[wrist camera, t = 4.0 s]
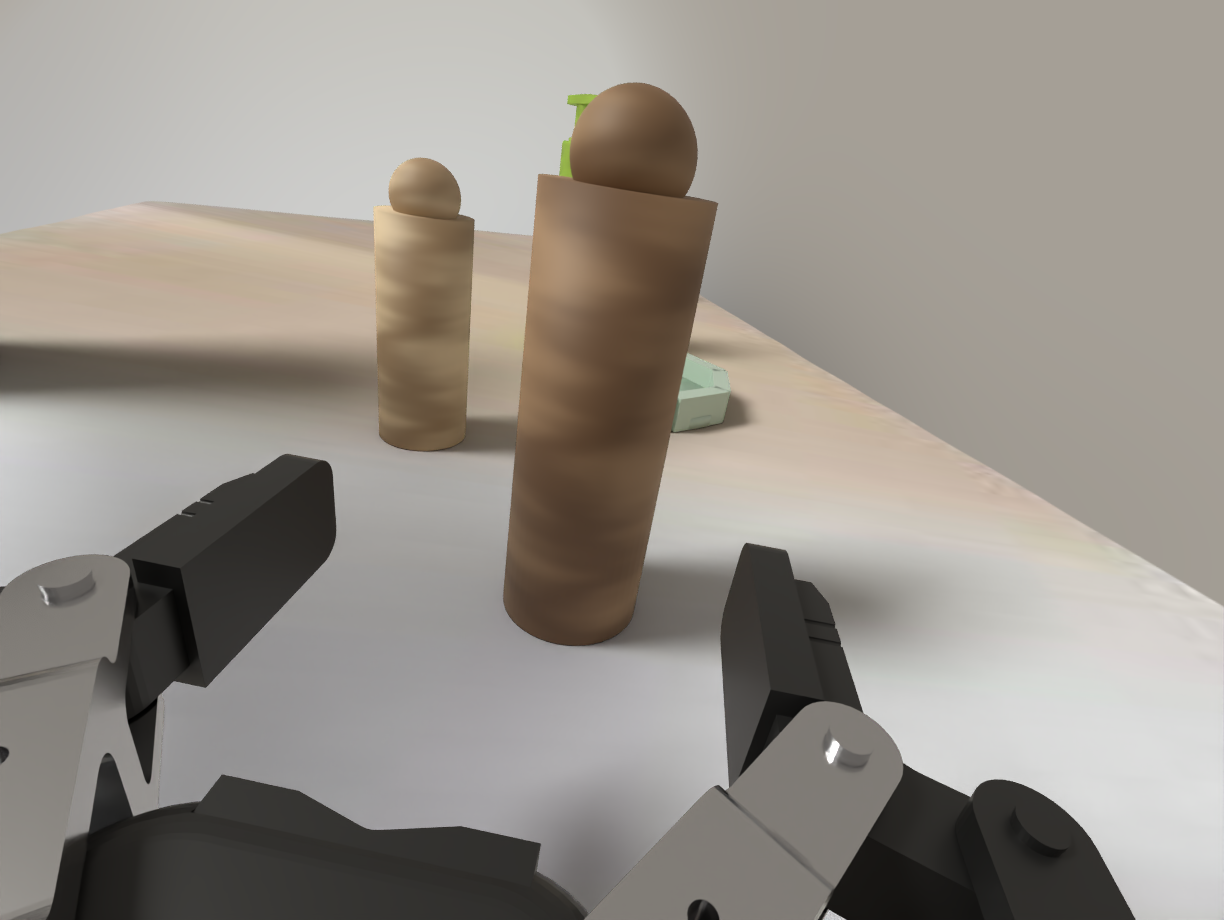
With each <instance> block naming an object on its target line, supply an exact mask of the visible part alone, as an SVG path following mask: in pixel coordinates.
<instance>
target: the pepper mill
mask: <svg viewBox="0 0 1224 920" xmlns="http://www.w3.org/2000/svg"><path fill="white" fill-rule="evenodd" d="M697 151H698V150H697V140H696V136H695V131H694V128H693V126H692V123H691V121H690V119H689V117H688V115H687V113H686V112H685V110H684V109H683V108H682V106H681V105H680V104H679V103H678V102H677V101H676V99H675V98H673V97H672V96H670V94H668V93H667V92H665V91H663V90H662V89H660V88H658V87H655V86H652V85H649V84H645V83H625V84H620V85H617V86H614V87H611V88H609V89H607V90H605V91H604V92H602V93H600V94H599V95H598V96H596V97H595V98H594V99H593V100H592V101H591V102H590V103H589V104H588V105H587V107H586V108H585V109H584V111H583V112H582V114H581V115H580V117H579V119H578V121H577V123H576V125H575V128H574V131H573V134H572V138H571V143H570V156H569V157H570V168H571V173H572V177H566V176H558V175H548V174H539V175H538V185H537V196H536V209H535V221H534V233H533V244H532V256H531V268H530V280H529V292H528V304H527V316H526V328H525V340H524V352H523V364H522V376H521V388H520V400H519V412H518V424H517V436H516V448H515V460H514V472H513V484H512V496H511V508H510V520H509V532H508V544H507V556H506V568H505V580H504V592H503V601H504V606H505V609H506V611H507V613H508V615H509V616H510V618H511V619H512V620H513V621H514V622H515V623H516V624H517V625H518V626H519V627H520V628H521V629H523V630H524V631H526V632H527V633H529V634H531V635H533V636H535V637H537V638H539V639H542V640H545V641H548V642H552V643H556V644H562V645H573V646H578V645H590V644H595V643H599V642H603V641H605V640H608V639H610V638H612V637H614V636H616V635H617V634H619V633H620V632H621V631H623V630H624V629H625V628H626V627H627V625H628V624H629V622H630V621H631V618H632V616H633V612H634V608H635V603H636V598H637V593H638V588H639V583H640V579H641V574H642V569H643V564H644V559H645V554H646V550H647V545H648V540H649V535H650V530H651V525H652V521H653V516H654V511H655V506H656V501H657V496H658V492H659V487H660V482H661V477H662V472H663V467H664V462H665V458H666V453H667V448H668V443H669V438H670V433H671V429H672V424H673V419H674V414H675V409H676V404H677V400H678V395H679V390H680V385H681V380H682V375H683V371H684V366H685V361H686V356H687V351H688V346H689V342H690V337H691V332H692V327H693V322H694V317H695V313H696V308H697V303H698V298H699V293H700V288H701V284H702V279H703V274H704V269H705V264H706V259H707V254H708V250H709V245H710V240H711V235H712V230H713V225H714V221H715V216H716V211H717V206H718V203H716V202H713V201H709V200H704V199H700V198H695V197H690V196H685V195H686V193H687V192H688V190H689V188H690V186H691V184H692V181H693V178H694V175H695V171H696V166H697Z"/></svg>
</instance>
